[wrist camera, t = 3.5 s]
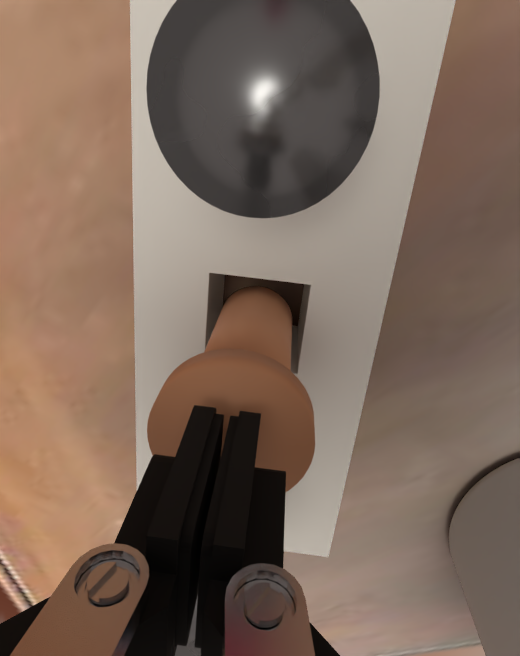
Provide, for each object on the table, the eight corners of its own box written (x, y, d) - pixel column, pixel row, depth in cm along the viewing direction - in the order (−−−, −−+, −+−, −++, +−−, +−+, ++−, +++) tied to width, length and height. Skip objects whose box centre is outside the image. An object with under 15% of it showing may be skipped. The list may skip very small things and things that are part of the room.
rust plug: (316, 276, 18) (327, 379, 11) (301, 372, 20) (302, 515, 13) (206, 263, 19) (146, 356, 11) (201, 360, 20) (147, 494, 13)
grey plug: (353, 42, 15) (404, -31, 8) (331, 182, 17) (356, 229, 10) (219, 28, 15) (145, -56, 8) (211, 168, 17) (146, 206, 10)
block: (423, -2, 18) (465, -42, 14) (323, 487, 28) (328, 557, 24) (171, -27, 18) (129, -75, 14) (163, 465, 29) (137, 530, 24)
